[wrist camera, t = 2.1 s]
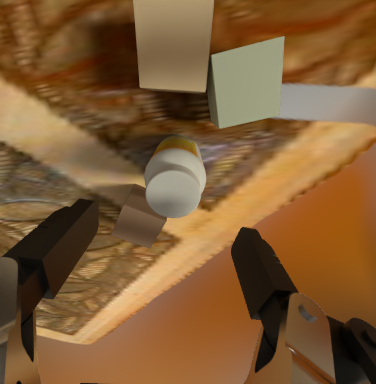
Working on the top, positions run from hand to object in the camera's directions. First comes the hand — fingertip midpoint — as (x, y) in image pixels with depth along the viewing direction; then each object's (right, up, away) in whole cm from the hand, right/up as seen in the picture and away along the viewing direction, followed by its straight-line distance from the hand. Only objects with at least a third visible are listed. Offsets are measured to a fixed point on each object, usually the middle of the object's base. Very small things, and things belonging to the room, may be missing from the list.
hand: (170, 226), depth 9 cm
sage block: (+5, +12, +8) cm, 16 cm away
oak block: (0, +14, +6) cm, 16 cm away
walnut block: (-5, 0, +14) cm, 15 cm away
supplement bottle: (0, +6, +11) cm, 13 cm away
